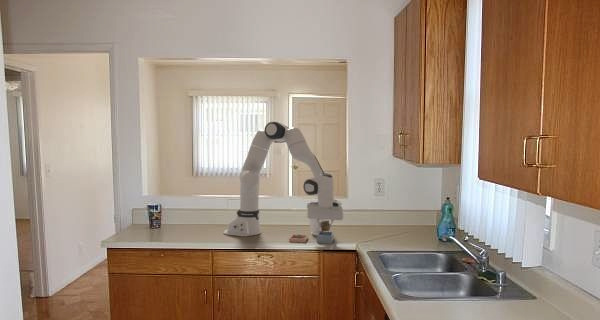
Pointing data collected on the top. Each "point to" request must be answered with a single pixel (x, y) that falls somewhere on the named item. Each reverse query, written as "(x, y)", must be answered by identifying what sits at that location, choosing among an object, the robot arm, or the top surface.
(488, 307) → the top surface
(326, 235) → the grey open box
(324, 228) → the block
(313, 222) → the jar
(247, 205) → the robot arm
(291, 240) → the dish
